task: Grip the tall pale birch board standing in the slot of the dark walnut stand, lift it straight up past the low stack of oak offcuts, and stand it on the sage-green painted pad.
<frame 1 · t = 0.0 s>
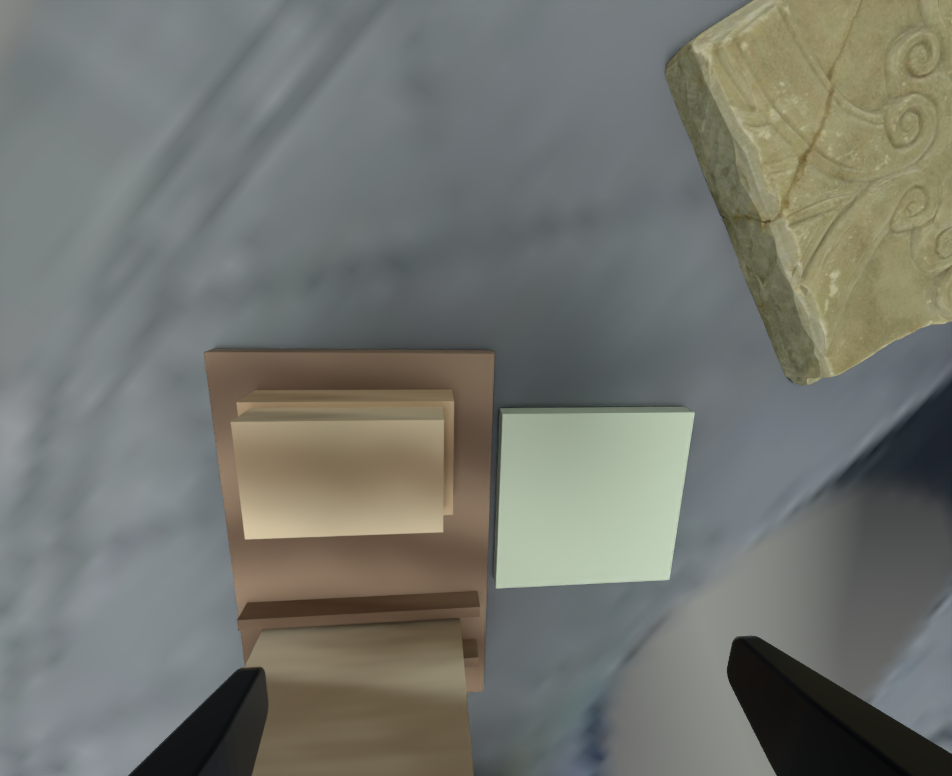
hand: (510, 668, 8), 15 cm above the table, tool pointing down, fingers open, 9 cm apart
sage pad: (585, 494, 24), on the table
birch board: (366, 626, 24), point 1 cm above the table, touching walnut stand
pine offcut: (351, 461, 19), point 3 cm above the table, touching oak offcut
oak offcut: (358, 444, 21), point 1 cm above the table, touching pine offcut, walnut stand
walnut stand: (365, 534, 23), on the table
decorative tile: (899, 153, 22), on the table
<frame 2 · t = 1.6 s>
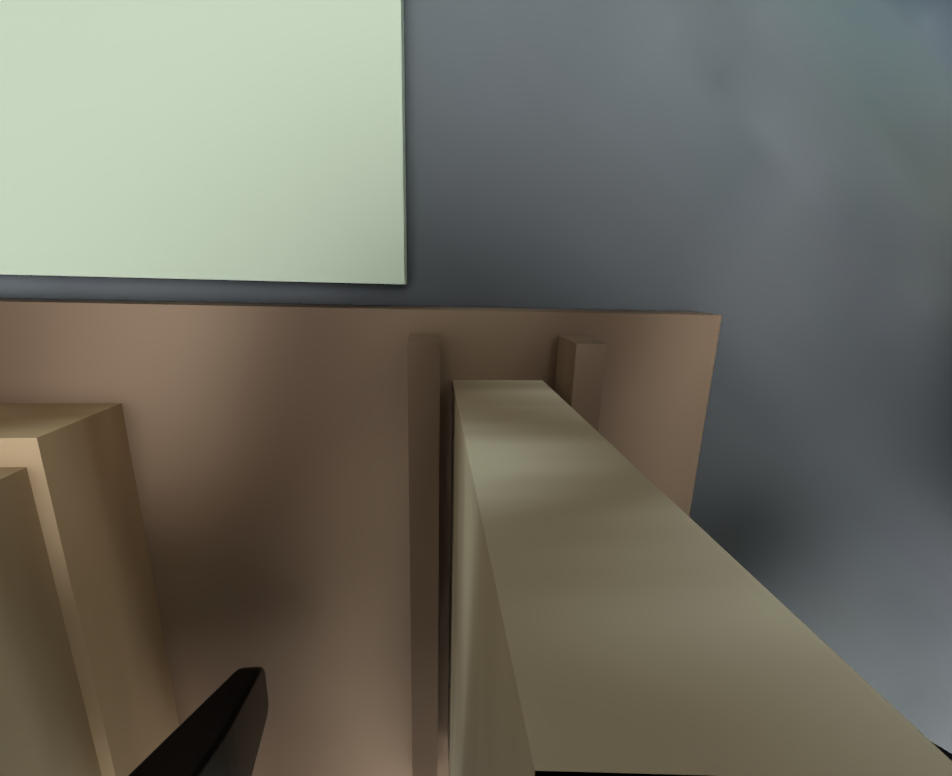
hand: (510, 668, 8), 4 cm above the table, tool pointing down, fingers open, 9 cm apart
sage pad: (132, 0, 8), on the table
birch board: (490, 576, 11), point 1 cm above the table, touching walnut stand
oak offcut: (23, 597, 10), point 1 cm above the table, touching pine offcut, walnut stand
walnut stand: (292, 559, 11), on the table
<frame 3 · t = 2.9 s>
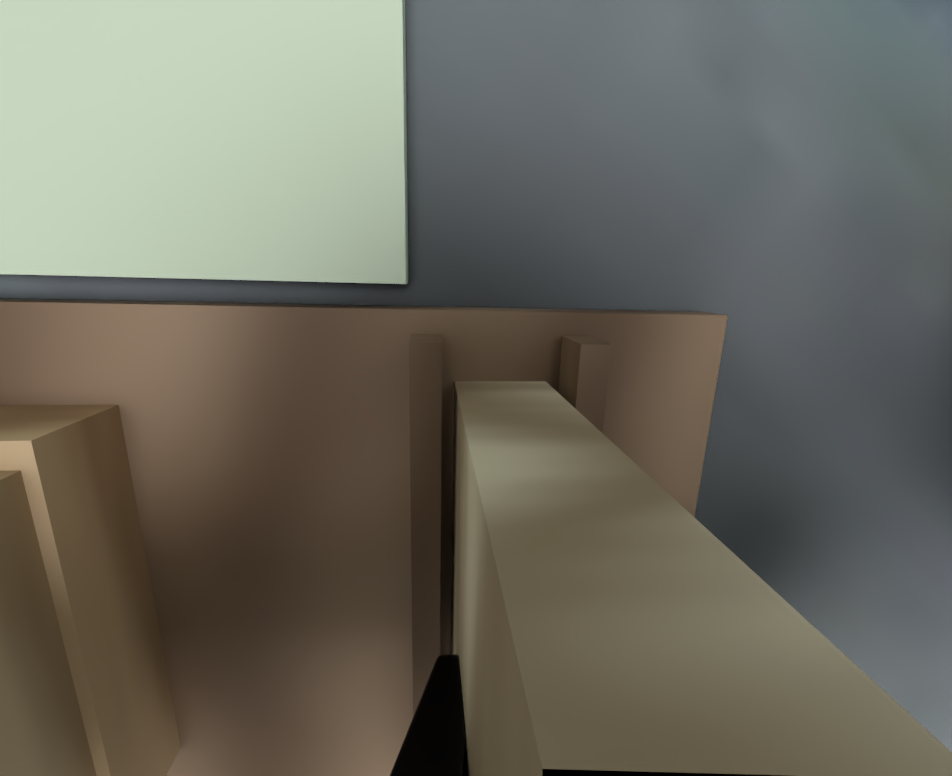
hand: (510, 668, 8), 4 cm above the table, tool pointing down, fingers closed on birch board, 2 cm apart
birch board: (492, 580, 11), point 1 cm above the table, touching gripper, walnut stand
oak offcut: (19, 601, 10), point 1 cm above the table, touching pine offcut, walnut stand
walnut stand: (292, 562, 11), on the table
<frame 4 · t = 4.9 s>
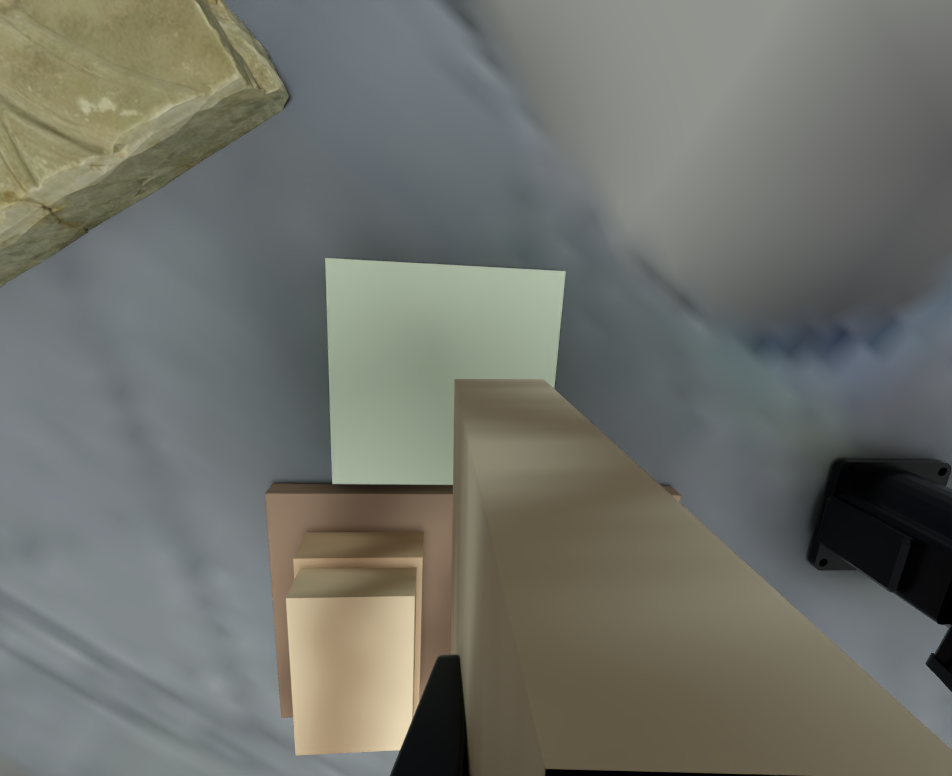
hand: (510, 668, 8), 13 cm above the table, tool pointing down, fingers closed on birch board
sage pad: (444, 376, 20), on the table
birch board: (491, 574, 11), point 11 cm above the table, touching gripper
pine offcut: (360, 644, 20), point 3 cm above the table, touching oak offcut
oak offcut: (366, 611, 22), point 1 cm above the table, touching pine offcut, walnut stand
walnut stand: (474, 595, 23), on the table
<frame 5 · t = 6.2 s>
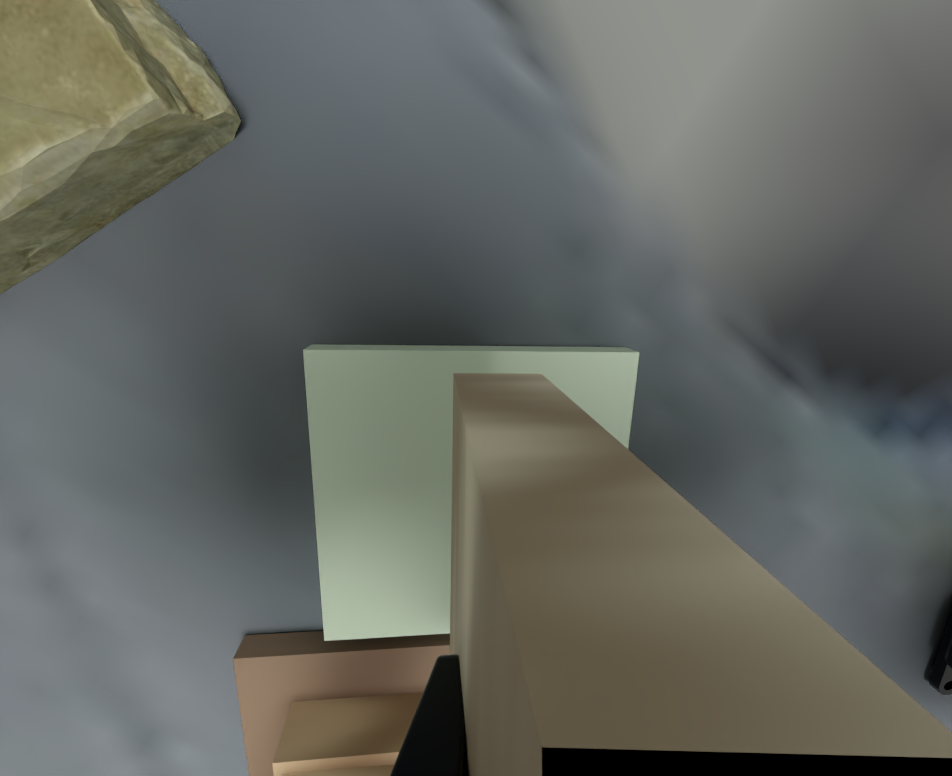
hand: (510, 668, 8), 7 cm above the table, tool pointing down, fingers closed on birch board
sage pad: (471, 489, 15), on the table
birch board: (490, 566, 11), point 4 cm above the table, touching gripper
walnut stand: (512, 749, 18), on the table
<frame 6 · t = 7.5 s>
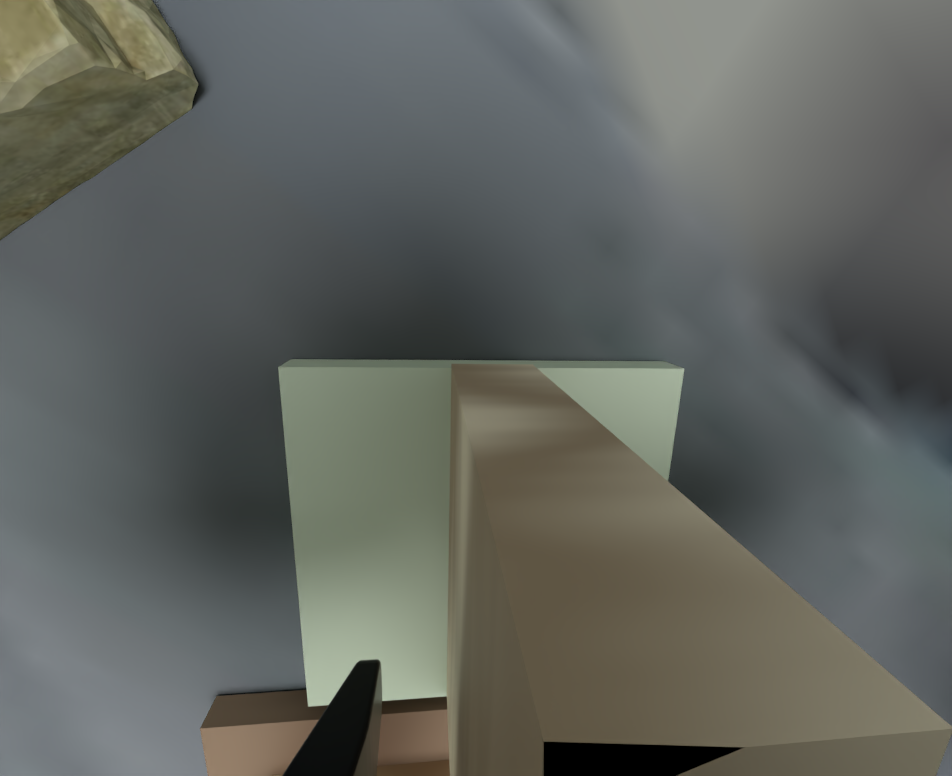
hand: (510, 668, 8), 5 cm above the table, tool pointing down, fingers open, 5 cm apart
sage pad: (480, 527, 13), on the table
birch board: (485, 544, 12), point 1 cm above the table, touching sage pad
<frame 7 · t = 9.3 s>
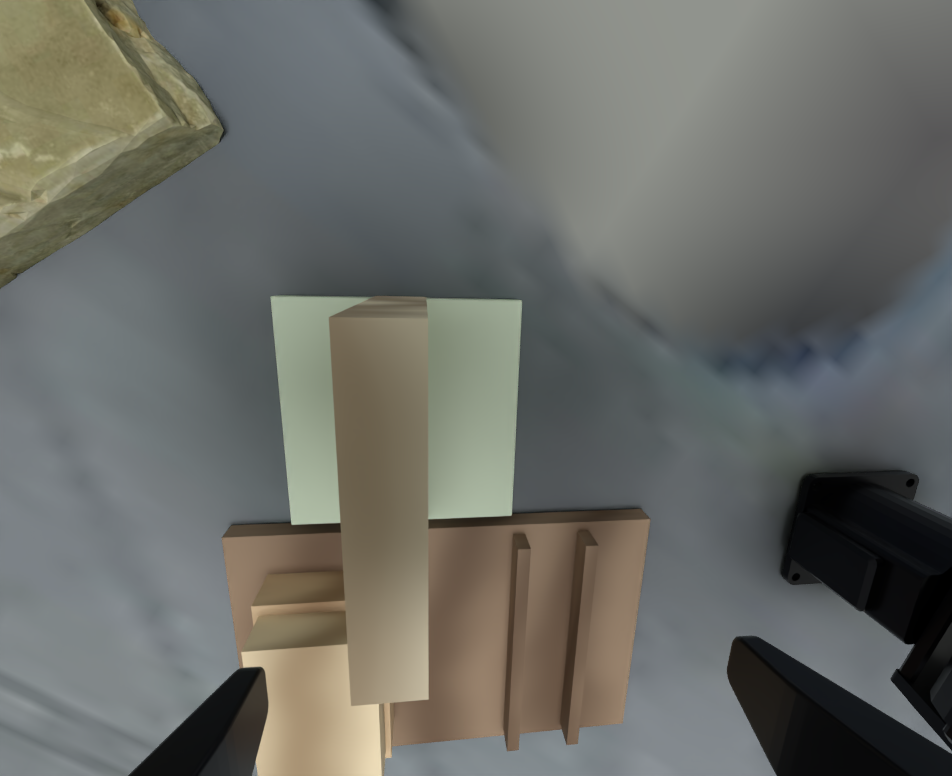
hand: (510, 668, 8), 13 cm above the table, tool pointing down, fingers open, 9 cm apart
sage pad: (403, 409, 20), on the table
birch board: (403, 414, 19), point 1 cm above the table, touching sage pad
pine offcut: (326, 687, 20), point 3 cm above the table, touching oak offcut
oak offcut: (335, 650, 21), point 1 cm above the table, touching pine offcut, walnut stand
walnut stand: (446, 626, 23), on the table
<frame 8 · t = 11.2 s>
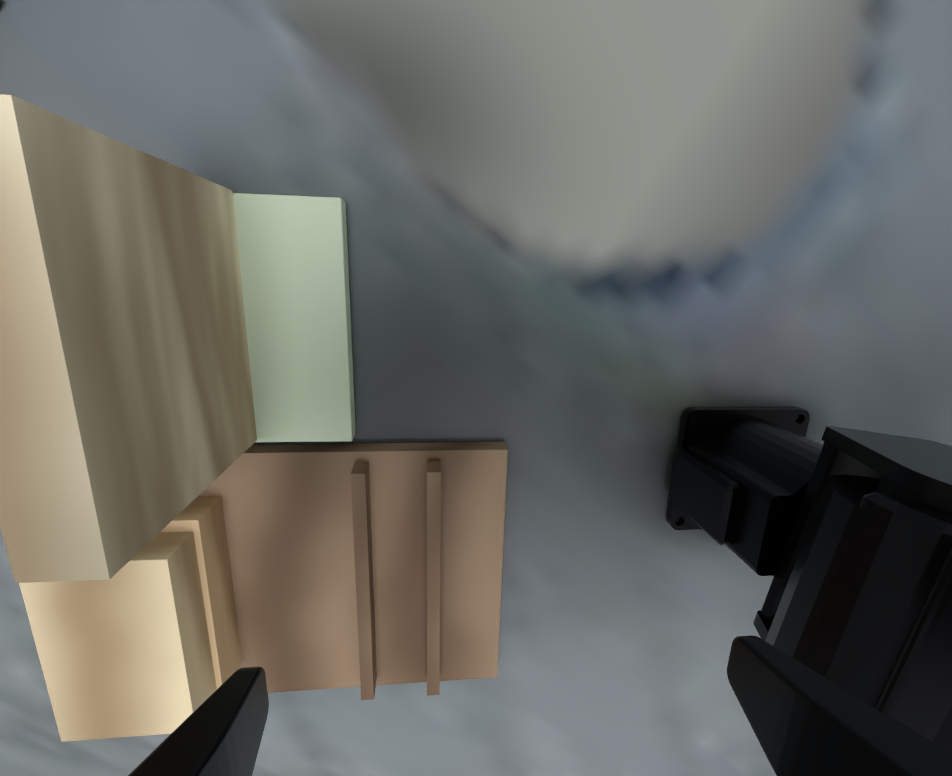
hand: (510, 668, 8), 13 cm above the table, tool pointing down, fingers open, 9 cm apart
sage pad: (230, 323, 19), on the table
birch board: (219, 323, 18), point 1 cm above the table, touching sage pad
pine offcut: (142, 618, 18), point 3 cm above the table, touching oak offcut
oak offcut: (169, 585, 20), point 1 cm above the table, touching pine offcut, walnut stand
walnut stand: (299, 567, 22), on the table
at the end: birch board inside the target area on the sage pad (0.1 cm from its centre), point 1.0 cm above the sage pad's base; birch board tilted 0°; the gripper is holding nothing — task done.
